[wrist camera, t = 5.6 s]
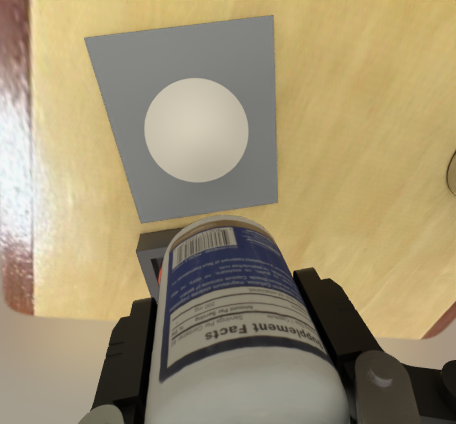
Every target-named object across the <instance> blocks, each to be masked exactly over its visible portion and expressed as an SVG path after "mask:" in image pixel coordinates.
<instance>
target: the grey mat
mask: <svg viewBox="0 0 456 424" xmlns="http://www.w3.org/2000/svg"><path fill="white" fill-rule="evenodd" d="M84 40H85V43H86V46H87V50H88V53H89V56H90V59H91V63H92V66H93V69H94V72H95V76H96V79H97V82H98V85H99V89H100V92H101V95H102V98H103V102H104V105H105V108H106V111H107V115H108V118H109V121H110V124H111V128H112V131H113V134H114V137H115V141H116V144H117V147H118V150H119V154H120V157H121V160H122V163H123V167H124V170H125V173H126V176H127V180H128V183H129V186H130V189H131V193H132V196H133V199H134V202H135V206H136V209H137V212H138V215H139V219H140V222H141V223H148V222H154V221H161V220H167V219H174V218H180V217H187V216H193V215H200V214H207V213H213V212H220V211H226V210H233V209H239V208H246V207H253V206H259V205H266V204H272V203H278V192H277V148H276V104H275V59H274V15H271V16H262V17H254V18H246V19H237V20H229V21H221V22H212V23H204V24H196V25H187V26H179V27H171V28H162V29H154V30H146V31H137V32H129V33H121V34H112V35H104V36H96V37H87V38H84Z"/></svg>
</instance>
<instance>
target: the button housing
mask: <svg viewBox="0 0 456 424" xmlns="http://www.w3.org/2000/svg"><path fill="white" fill-rule="evenodd" d="M182 229H183V228H178V229H172V230H165V231H159V232H152V233H146V234H140V238H139V242H138V246H137V249H136V254H137V257H138V260H139V263H140V266H141V269H142V272H143V274H144V277H145V280H146V283H147V286H148V289H149V292H150V295H151V297H154V298H155V299H156V302H157V303H158V295H159V288H160V286H159V282H158V280H159V273H160V265H161V262H162V261H163V259H164V255H165V253H166V250H167V248H168V246H169V244H170V243H171V241H172V239H173V238H174V237H175V236H176V234H178V233H179V232H180V231H181V230H182Z"/></svg>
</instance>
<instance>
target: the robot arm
mask: <svg viewBox="0 0 456 424" xmlns="http://www.w3.org/2000/svg"><path fill="white" fill-rule="evenodd" d="M448 185H449V188H450V190H451V191H452V193H453V194H454V195H456V154H455V155H454V157H453V159H452V162H451V164H450V167H449V171H448ZM293 279H294V281H295V283H296V285H297V287H298V290H299V292H300V294H301V296H302V298H303V300H304V303H305V305H306V307H307V309H308V311H309V314H310V316H311V318H312V320H313V322H314V324H315V326H316V329H317V331H318V333H319V335H320V337H321V339H322V342H323V344H324V346H325V347H326V349H327V351H328V353H329V356H330V358H331V360H332V362H333V364H334V366H335V367H336V369H337V371H338V374H339V377H340V379H341V382H342V384H343V387H344V389H345V392H346V395H347V398H348V401H349V407H350V423H349V424H456V360H452V361H449V362H447V363H446V364H445V365H444V366H443V368H442V370H437V369H429V368H421V367H414V366H409V365H405V364H403V363H400V362H399V361H398V360H397V359H396V358H394V357H393V356H391V355H389V354H387V353H385V352H384V351H383V350H382V348H381V347H380V346H379V344H378V343H377V341H376V340H375V338H374V336H373V335H372V333H371V332H370V330H369V329H368V327H367V326H366V324H365V323H364V321H363V320H362V318H361V317H360V315H359V313H358V312H357V310H355V307H354V306H353V304H352V303H351V301H350V300H349V299H348V297H347V295H346V294H345V292H344V290H343V289H342V287H341V286H339V285H338V284H337V283H335V282H334V281H333V280H331V279H330V278H328V279H323V280H321V279H320V277H319V276H318V274H317V272H316V271H315V269H314V268H313V267H312V268H306V269H301V270H296V271H294V272H293ZM156 314H157V302H156V299H155V298H154V297H151V298H146V299H140V300H135V301H134V302H133V304H132V308H131V313H130V316H128V317H122V318H120V320H119V321H118V323H117V324H116V326H115V327H114V329H113V331H112V334H111V337H110V341H109V347H108V349H107V353H106V359H105V361H104V364H103V368H102V372H101V376H100V379H99V383H98V387H97V391H96V395H95V399H94V403H93V405H92V408H91V410H90V412H89V413H87V414H86V415H85V416H84V417H83V418H82V419H81V421H80V422H79V423H78V424H144V422H145V409H146V398H147V391H148V385H149V374H150V366H151V357H152V350H153V340H154V332H155V323H156Z"/></svg>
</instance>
